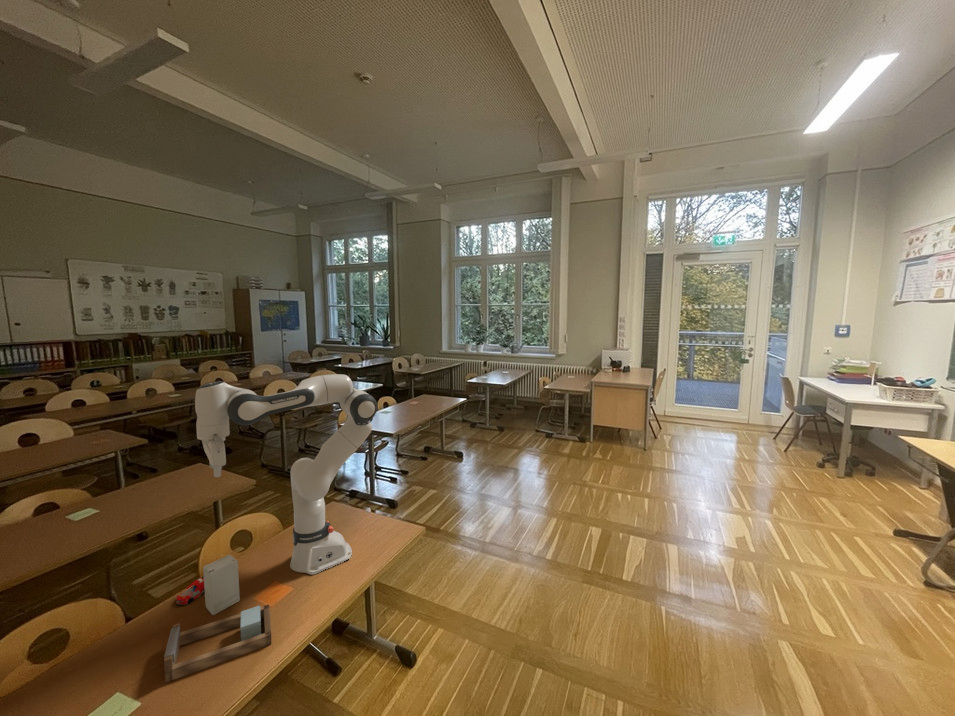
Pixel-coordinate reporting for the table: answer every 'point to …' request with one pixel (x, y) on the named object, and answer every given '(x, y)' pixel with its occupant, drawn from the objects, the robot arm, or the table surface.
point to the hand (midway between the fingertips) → (215, 471)
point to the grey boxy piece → (250, 623)
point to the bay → (215, 656)
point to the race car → (191, 592)
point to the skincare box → (221, 584)
